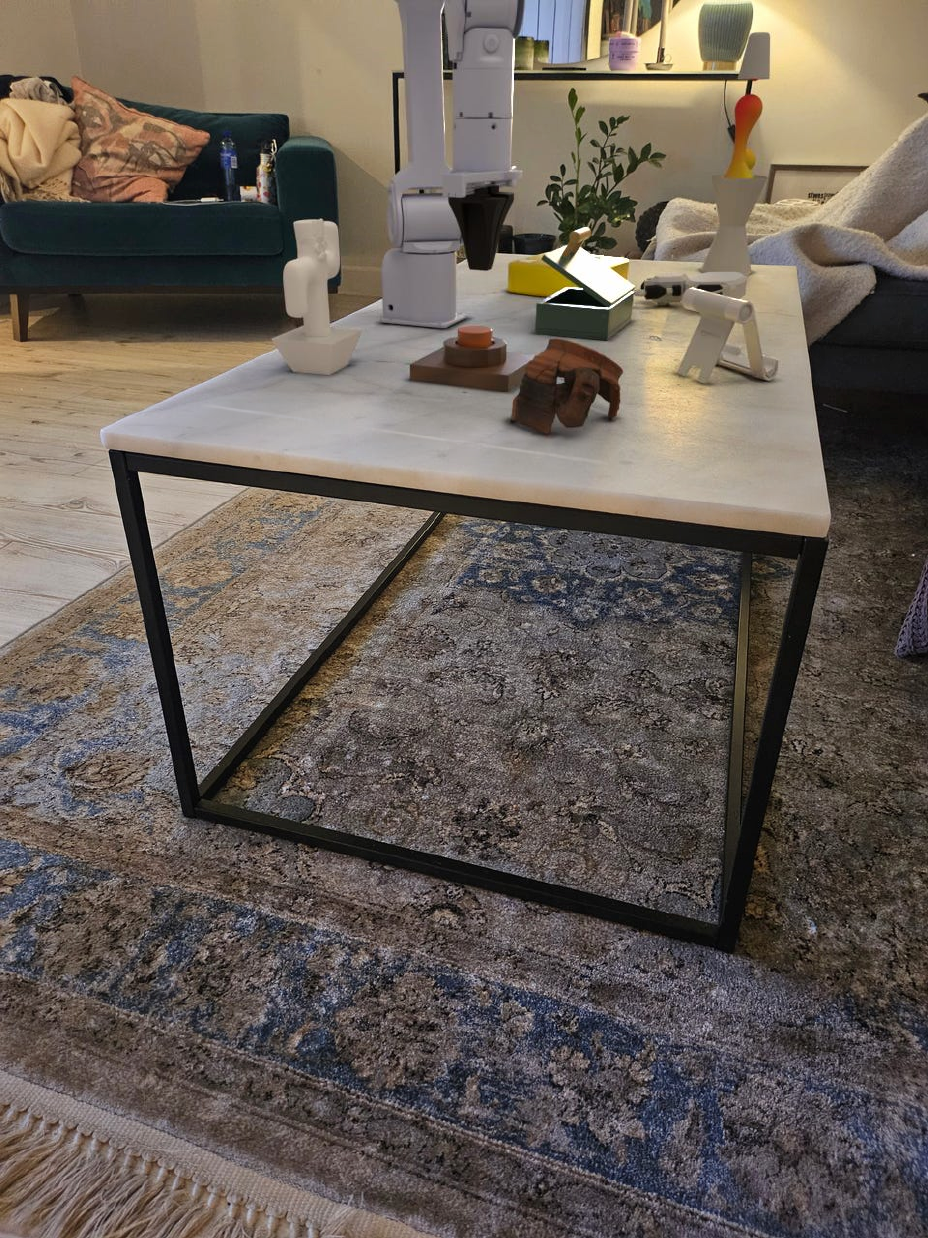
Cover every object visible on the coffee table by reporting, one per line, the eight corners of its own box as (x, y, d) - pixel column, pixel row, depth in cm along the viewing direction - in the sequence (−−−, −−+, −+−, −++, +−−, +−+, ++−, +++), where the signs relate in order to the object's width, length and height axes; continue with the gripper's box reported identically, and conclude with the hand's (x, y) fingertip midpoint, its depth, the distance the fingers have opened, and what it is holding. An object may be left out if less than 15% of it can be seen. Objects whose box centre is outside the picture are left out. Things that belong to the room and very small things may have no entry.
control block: (409, 380, 92) (408, 346, 90) (444, 360, 99) (444, 328, 97) (507, 392, 88) (508, 357, 87) (536, 371, 95) (538, 338, 94)
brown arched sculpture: (492, 415, 83) (528, 332, 82) (577, 455, 86) (613, 376, 84) (527, 421, 72) (569, 324, 70) (624, 467, 74) (666, 375, 73)
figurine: (269, 376, 93) (252, 222, 86) (311, 355, 101) (299, 212, 93) (330, 382, 91) (318, 225, 84) (368, 361, 99) (361, 215, 91)
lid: (540, 259, 107) (558, 228, 104) (570, 246, 117) (587, 218, 114) (608, 308, 106) (627, 278, 104) (632, 291, 116) (650, 263, 114)
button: (452, 348, 91) (452, 331, 90) (465, 341, 94) (465, 324, 93) (484, 351, 90) (484, 334, 89) (496, 344, 93) (497, 327, 92)
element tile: (631, 287, 140) (634, 255, 138) (590, 302, 129) (593, 267, 127) (547, 278, 147) (549, 247, 144) (502, 292, 136) (503, 259, 134)
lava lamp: (743, 277, 149) (781, 29, 131) (692, 272, 153) (722, 31, 136) (759, 270, 155) (797, 33, 138) (709, 265, 160) (740, 35, 142)
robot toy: (629, 315, 125) (737, 316, 120) (629, 281, 123) (740, 280, 117) (649, 300, 135) (750, 300, 129) (650, 268, 133) (753, 267, 127)
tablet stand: (775, 380, 93) (791, 297, 88) (717, 389, 90) (730, 303, 85) (721, 361, 99) (732, 283, 95) (665, 369, 96) (674, 289, 92)
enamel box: (534, 333, 111) (536, 303, 109) (564, 315, 121) (565, 286, 119) (607, 340, 108) (609, 309, 106) (631, 321, 118) (634, 292, 116)
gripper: (493, 119, 77) (490, 283, 84) (546, 117, 88) (539, 261, 95) (420, 118, 79) (423, 277, 86) (481, 116, 91) (479, 257, 98)
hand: (480, 269), depth 91 cm, fingers closed
